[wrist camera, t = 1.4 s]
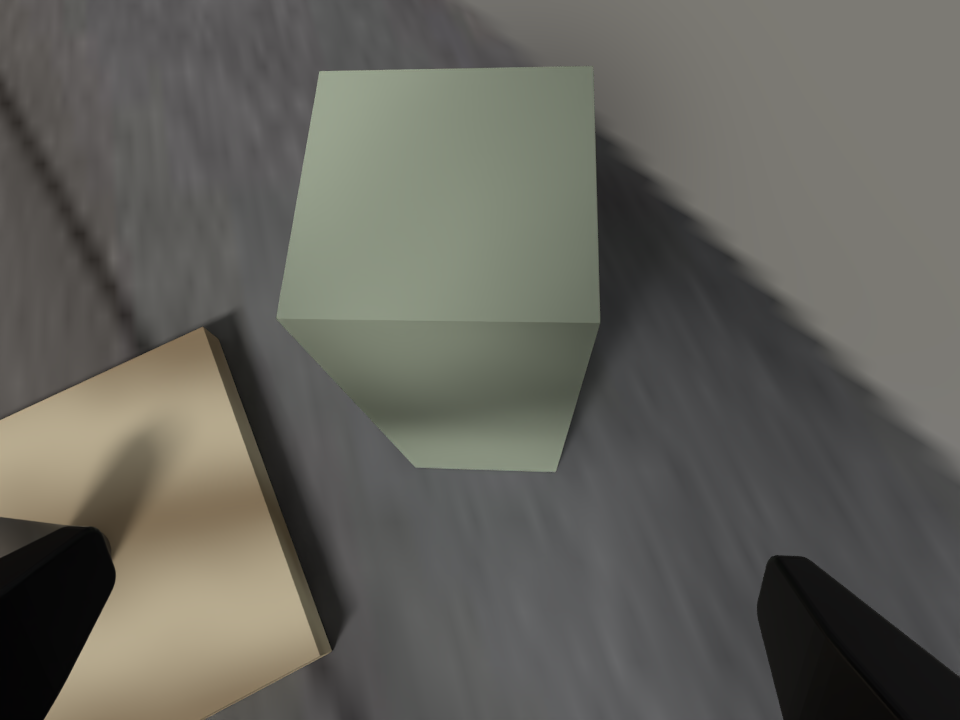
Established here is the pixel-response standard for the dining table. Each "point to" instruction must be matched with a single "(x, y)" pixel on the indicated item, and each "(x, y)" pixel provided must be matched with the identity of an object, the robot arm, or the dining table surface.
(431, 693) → the dining table surface
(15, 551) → the robot arm
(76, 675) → the base
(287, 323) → the block
